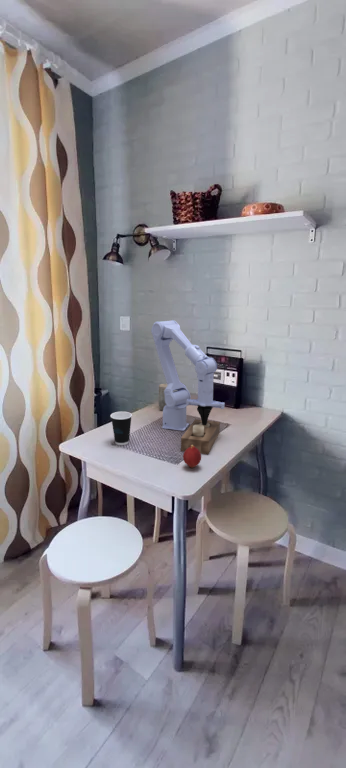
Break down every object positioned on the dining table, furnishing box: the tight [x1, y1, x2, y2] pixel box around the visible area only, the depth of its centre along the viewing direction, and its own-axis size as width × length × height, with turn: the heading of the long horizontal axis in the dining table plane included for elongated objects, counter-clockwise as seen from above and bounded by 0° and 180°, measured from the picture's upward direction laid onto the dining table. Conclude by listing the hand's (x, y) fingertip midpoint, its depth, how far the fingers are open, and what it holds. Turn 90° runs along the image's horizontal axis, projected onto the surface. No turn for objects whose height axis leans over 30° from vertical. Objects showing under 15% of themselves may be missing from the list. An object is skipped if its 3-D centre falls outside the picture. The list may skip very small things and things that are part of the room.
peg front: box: [193, 425, 204, 437], centre depth 140 cm, size 4×4×4 cm
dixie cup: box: [109, 411, 133, 446], centre depth 144 cm, size 8×8×11 cm
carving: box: [157, 383, 167, 411], centre depth 181 cm, size 6×8×12 cm
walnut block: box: [180, 418, 221, 455], centre depth 146 cm, size 10×20×5 cm, turn 162°
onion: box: [182, 445, 202, 469], centre depth 125 cm, size 6×6×8 cm
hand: (204, 424), depth 149 cm, fingers closed, pressing on peg back
